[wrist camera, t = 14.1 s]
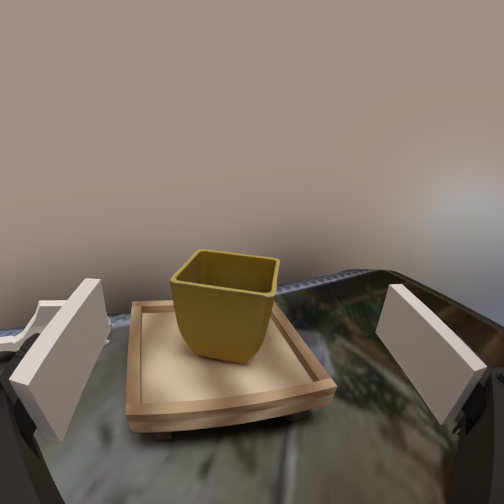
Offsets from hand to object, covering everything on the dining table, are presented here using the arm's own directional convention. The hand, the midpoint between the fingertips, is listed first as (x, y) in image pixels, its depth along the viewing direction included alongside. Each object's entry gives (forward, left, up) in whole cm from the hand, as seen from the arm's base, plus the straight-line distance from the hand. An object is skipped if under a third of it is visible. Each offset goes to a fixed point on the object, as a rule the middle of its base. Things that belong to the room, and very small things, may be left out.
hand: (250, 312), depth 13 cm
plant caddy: (-2, -14, -18) cm, 23 cm away
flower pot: (-3, -14, -13) cm, 19 cm away
